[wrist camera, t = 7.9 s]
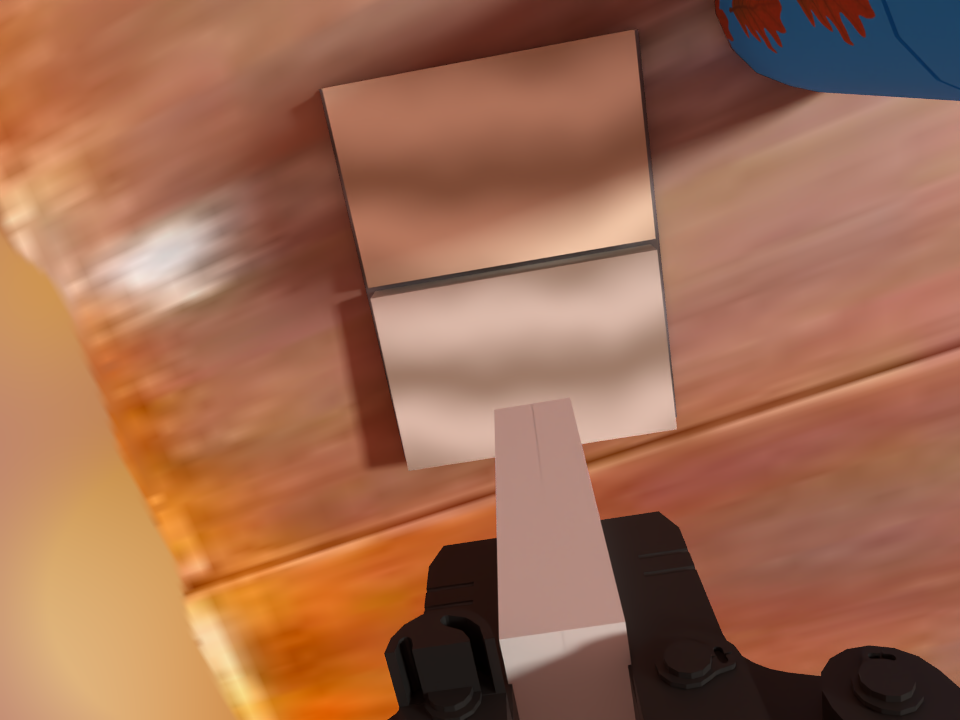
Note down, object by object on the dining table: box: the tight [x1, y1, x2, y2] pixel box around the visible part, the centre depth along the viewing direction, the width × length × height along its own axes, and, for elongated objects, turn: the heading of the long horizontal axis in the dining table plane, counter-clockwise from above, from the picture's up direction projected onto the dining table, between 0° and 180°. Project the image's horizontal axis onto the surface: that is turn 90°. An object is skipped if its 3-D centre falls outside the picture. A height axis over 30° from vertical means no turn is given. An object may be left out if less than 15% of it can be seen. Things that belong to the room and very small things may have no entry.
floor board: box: [320, 29, 677, 459], centre depth 42 cm, size 21×16×2 cm
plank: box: [371, 244, 677, 471], centre depth 43 cm, size 10×15×2 cm, turn 100°
